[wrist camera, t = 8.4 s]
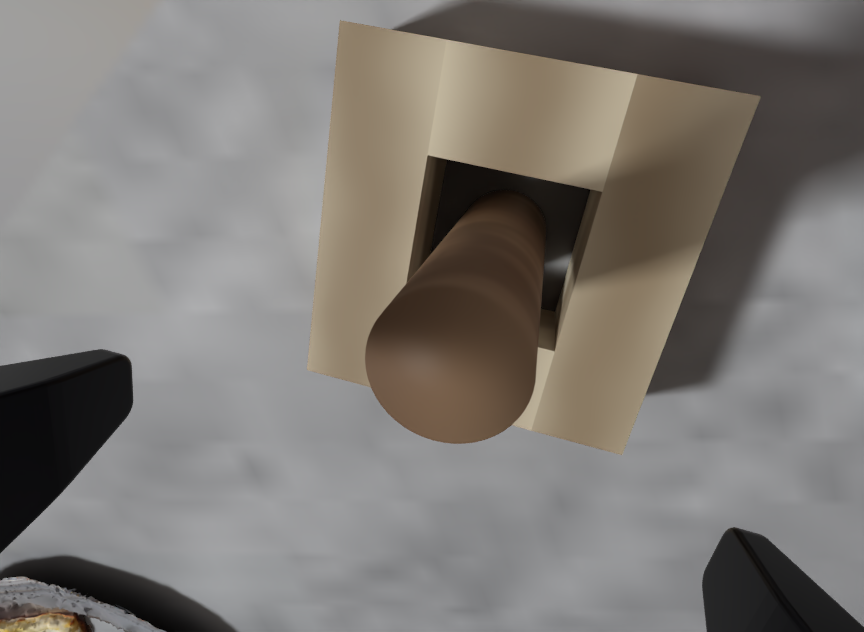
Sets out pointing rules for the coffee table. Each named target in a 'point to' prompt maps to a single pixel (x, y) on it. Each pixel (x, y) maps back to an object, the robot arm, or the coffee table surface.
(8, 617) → the food plate
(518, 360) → the walnut peg
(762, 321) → the coffee table surface
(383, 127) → the hole block
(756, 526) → the coffee table surface
